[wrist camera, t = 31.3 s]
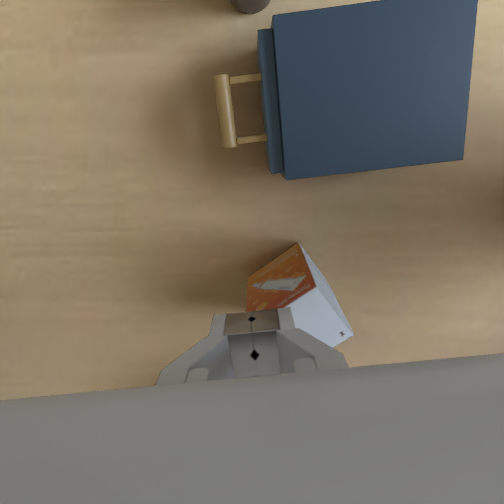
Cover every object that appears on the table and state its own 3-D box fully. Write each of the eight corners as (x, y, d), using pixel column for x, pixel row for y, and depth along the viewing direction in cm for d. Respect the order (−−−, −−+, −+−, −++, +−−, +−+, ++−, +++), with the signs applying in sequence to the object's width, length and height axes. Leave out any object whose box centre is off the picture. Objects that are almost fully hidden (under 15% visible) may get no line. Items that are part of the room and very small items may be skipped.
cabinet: (278, 171, 37) (285, 180, 29) (267, 46, 33) (272, 14, 25) (416, 155, 36) (463, 159, 28) (422, 25, 32) (479, -14, 24)
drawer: (230, 172, 36) (225, 179, 30) (215, 57, 33) (206, 36, 26) (399, 152, 36) (431, 155, 29) (403, 32, 32) (441, 5, 25)
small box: (298, 240, 40) (318, 284, 27) (326, 278, 41) (357, 336, 29) (245, 276, 41) (242, 334, 29) (274, 312, 43) (283, 380, 31)
